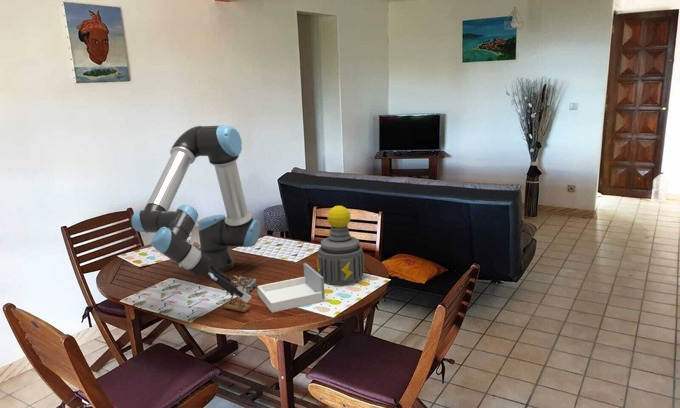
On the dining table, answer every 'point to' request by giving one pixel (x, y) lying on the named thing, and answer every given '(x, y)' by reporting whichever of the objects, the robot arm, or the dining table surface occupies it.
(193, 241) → the chinaware
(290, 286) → the holder tray
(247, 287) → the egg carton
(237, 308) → the brown openwork figurine
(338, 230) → the decorative lamp
